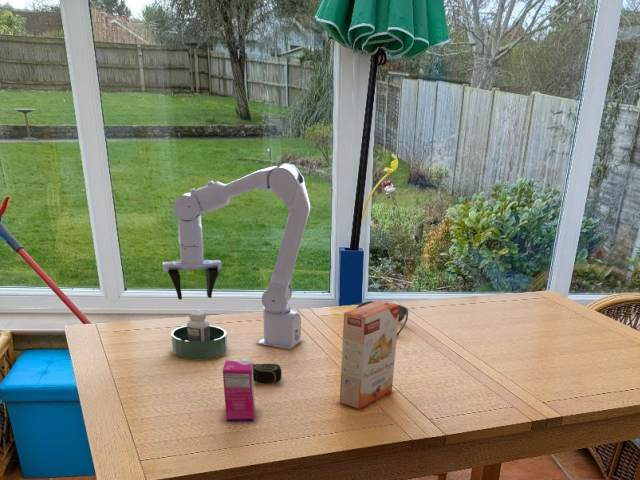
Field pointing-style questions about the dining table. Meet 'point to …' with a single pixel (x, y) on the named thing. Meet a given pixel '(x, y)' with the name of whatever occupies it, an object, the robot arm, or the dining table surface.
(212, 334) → the bowl
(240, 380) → the supplement box
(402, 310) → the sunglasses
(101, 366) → the dining table surface
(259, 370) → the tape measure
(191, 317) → the pill bottle
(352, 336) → the cracker box
